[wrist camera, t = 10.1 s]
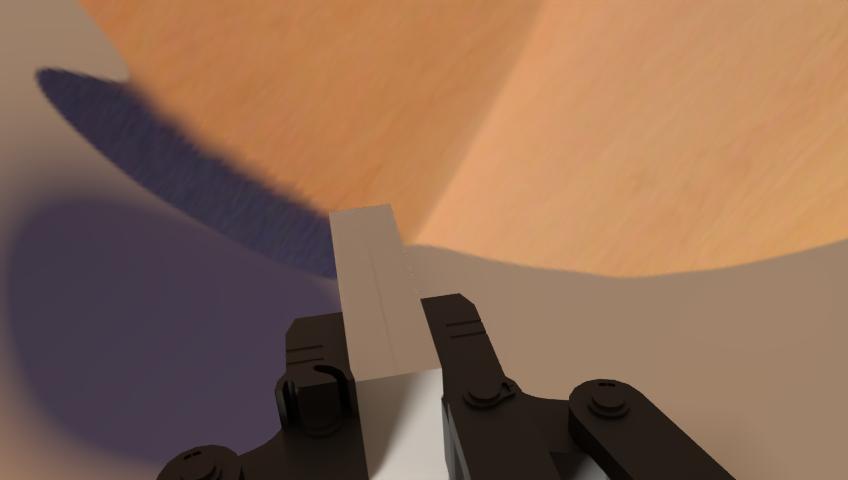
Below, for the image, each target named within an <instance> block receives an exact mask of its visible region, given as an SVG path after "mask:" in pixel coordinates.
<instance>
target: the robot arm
mask: <svg viewBox="0 0 848 480" xmlns="http://www.w3.org/2000/svg"><path fill="white" fill-rule="evenodd" d="M329 217H330V224H331V232H332V239H333V246H334V254H335V261H336V269H337V276H338V284H339V291H340V298H341V306H342V312H339V313H333V314H325V315H318V316H311V317H305V318H297V319H295V320H294V322H293V324H292V325H291V327H290V328H289V330H288V331H287V333H286V373H285V374H284V375H283V376H282V377H281V378H280V379H279V380H278V382H277V385H276V388H275V396H276V401H277V406H278V411H279V416H280V421H281V426H282V428H281V430H280V431H279V432H278V433H277V434H276V435H275V436H274V437H273V438H272V439H271V440H269V441H268V442H267V443H265V444H264V445H262V446H260V447H258V448H256V449H254V450H252V451H249V452H247V453H244V454H242V455H240V456H237V454H236V453H235V452H233V451H232V450H230V449H229V448H227V447H223V446H217V445H208V446H200V447H195V448H193V449H190V450H188V451H185V452H183V453H181V454H179V455H178V456H177V457H175V458H174V459H172V460H171V461H170V462H169V463H167V465H166V466H165V467H164V468H163V470H162V471H161V473H160V474H159V475H158V477H157V479H156V480H448V473H449V476H450V480H736V479H735V478H734V477H732V476H731V475H730V474H729V473H728V472H727V471H726V470H725V469H724V468H723V467H722V466H720V465H719V464H718V463H717V462H716V461H715V460H714V459H713V458H712V457H711V456H709V455H708V454H707V453H706V452H705V451H704V450H703V449H702V448H701V447H700V446H698V445H697V444H696V443H695V442H694V441H693V440H692V439H691V438H690V437H689V436H688V435H687V434H685V433H684V432H683V431H682V430H681V429H680V428H679V427H678V426H677V425H676V424H674V423H673V422H672V421H671V420H670V419H669V418H668V417H667V416H666V415H665V414H663V413H662V412H661V411H660V410H659V409H658V408H657V407H656V406H655V405H654V404H653V403H652V402H650V401H649V400H648V399H647V398H646V397H645V396H644V395H643V394H642V393H640V392H639V391H638V390H636V389H635V388H633V387H632V386H630V385H629V384H625V383H622V382H619V381H616V380H608V379H596V380H591V381H586V382H584V383H582V384H581V385H579V386H577V387H576V388H574V390H573V391H572V393H571V394H570V396H569V400H555V399H545V398H538V397H534V396H531V395H528V394H525V393H523V392H522V391H521V389H520V388H519V386H518V385H517V384H516V383H515V381H513V380H511V379H509V378H508V377H506V376H505V374H504V372H503V370H502V367H501V365H500V363H499V361H498V358H497V356H496V354H495V351H494V349H493V347H492V344H491V342H490V340H489V337H488V335H487V334H486V330H485V328H484V326H483V323H482V322H481V319H480V316H479V314H478V312H477V309H476V307H475V305H474V304H473V303H471V302H470V301H469V300H468V299H466V298H465V297H464V296H462V295H461V294H460V293H458V294H451V295H444V296H437V297H431V298H424V299H420V297H419V294H418V291H417V288H416V285H415V282H414V278H413V275H412V272H411V269H410V266H409V262H408V259H407V256H406V253H405V250H404V246H403V243H402V240H401V237H400V234H399V231H398V227H397V224H396V221H395V218H394V215H393V212H392V208H391V205H390V204H387V205H379V206H371V207H364V208H356V209H348V210H340V211H333V212H329Z"/></svg>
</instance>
